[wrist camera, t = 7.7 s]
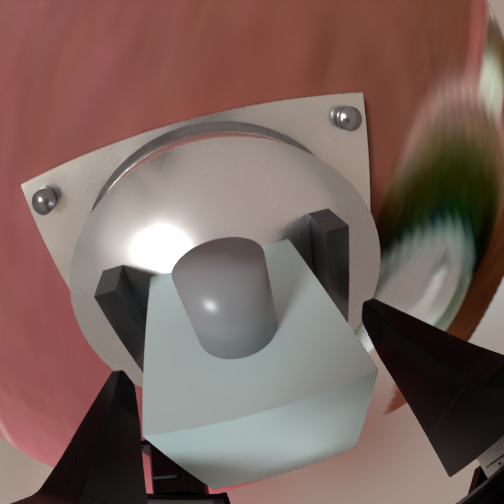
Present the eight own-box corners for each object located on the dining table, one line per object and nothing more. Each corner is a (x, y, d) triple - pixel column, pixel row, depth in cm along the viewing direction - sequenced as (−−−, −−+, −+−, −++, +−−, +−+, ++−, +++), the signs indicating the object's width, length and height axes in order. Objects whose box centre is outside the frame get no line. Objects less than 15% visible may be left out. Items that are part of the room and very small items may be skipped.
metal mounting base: (359, 301, 20) (407, 365, 15) (129, 366, 19) (126, 447, 13) (352, 92, 13) (444, 101, 7) (29, 179, 11) (-44, 235, 6)
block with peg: (300, 334, 13) (356, 447, 8) (194, 364, 13) (213, 488, 7) (280, 185, 9) (392, 297, 4) (130, 226, 9) (88, 382, 4)
